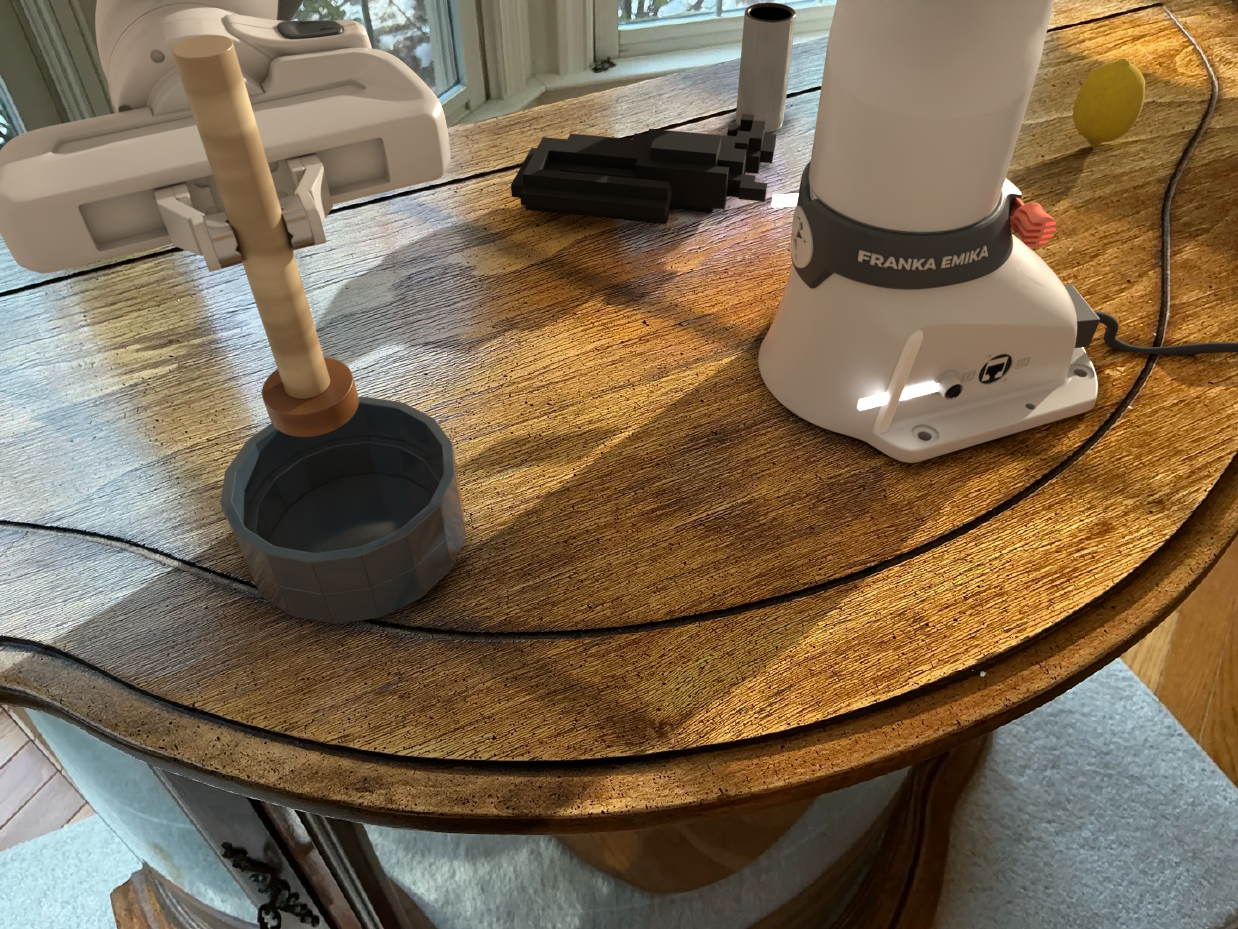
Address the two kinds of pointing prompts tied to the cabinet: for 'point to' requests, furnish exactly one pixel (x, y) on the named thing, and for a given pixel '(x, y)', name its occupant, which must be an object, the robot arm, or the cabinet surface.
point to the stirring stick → (263, 243)
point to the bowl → (347, 513)
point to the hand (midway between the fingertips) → (265, 243)
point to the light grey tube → (765, 63)
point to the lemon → (1109, 102)
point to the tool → (645, 172)
